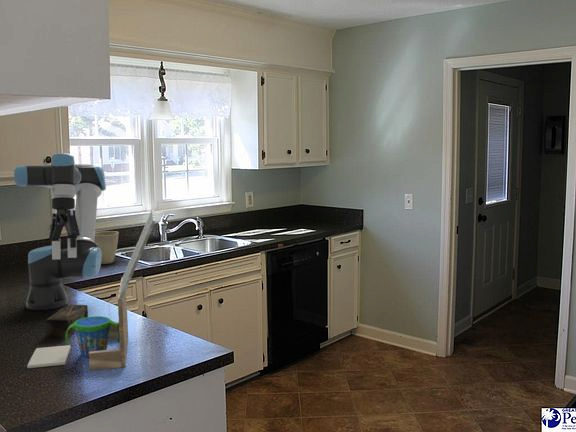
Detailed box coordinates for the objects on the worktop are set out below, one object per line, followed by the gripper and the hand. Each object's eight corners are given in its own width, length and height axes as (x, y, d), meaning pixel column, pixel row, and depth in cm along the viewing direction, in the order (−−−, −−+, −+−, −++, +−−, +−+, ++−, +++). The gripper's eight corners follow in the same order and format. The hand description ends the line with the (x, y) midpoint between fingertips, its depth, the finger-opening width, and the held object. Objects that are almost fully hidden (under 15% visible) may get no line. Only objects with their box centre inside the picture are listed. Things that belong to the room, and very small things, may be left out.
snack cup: (122, 345, 177) (121, 314, 176) (117, 358, 167) (116, 325, 165) (71, 348, 175) (69, 317, 173) (62, 361, 164) (60, 328, 163)
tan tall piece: (97, 338, 184) (90, 211, 178) (159, 332, 188) (154, 209, 183) (89, 370, 158) (81, 223, 152) (161, 363, 162) (155, 220, 157)
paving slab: (36, 350, 173) (36, 348, 173) (70, 347, 176) (70, 345, 175) (27, 368, 160) (27, 365, 160) (64, 364, 162) (64, 361, 162)
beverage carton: (89, 320, 203) (88, 302, 203) (69, 338, 184) (67, 319, 184) (67, 320, 203) (66, 302, 203) (44, 338, 184) (43, 319, 184)
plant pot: (115, 258, 310) (113, 230, 308) (123, 263, 298) (122, 233, 296) (87, 261, 302) (85, 232, 300) (95, 266, 290) (93, 236, 288)
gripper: (39, 201, 202) (39, 260, 200) (67, 192, 184) (68, 257, 182) (59, 202, 207) (60, 259, 205) (89, 193, 189) (90, 256, 187)
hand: (64, 258), depth 194 cm, fingers open, 13 cm apart
